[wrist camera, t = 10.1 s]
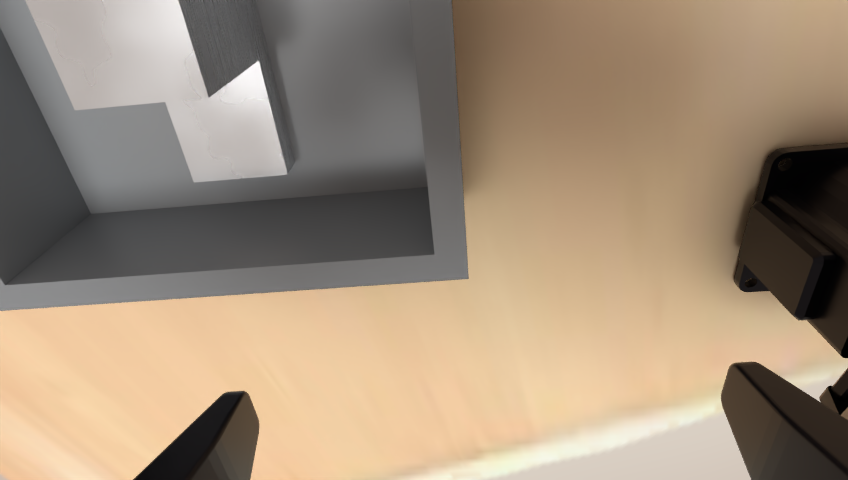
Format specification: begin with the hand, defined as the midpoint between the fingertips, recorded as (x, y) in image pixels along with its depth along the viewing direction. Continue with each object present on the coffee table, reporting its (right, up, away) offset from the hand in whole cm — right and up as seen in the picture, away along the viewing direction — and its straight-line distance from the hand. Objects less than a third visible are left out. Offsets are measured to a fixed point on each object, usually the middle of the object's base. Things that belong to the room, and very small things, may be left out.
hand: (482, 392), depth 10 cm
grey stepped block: (-8, +9, +8) cm, 15 cm away
